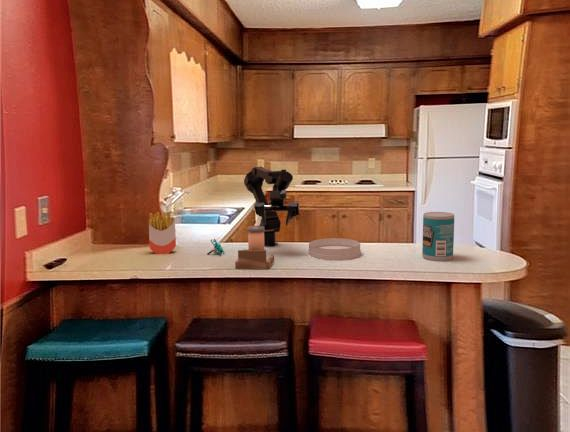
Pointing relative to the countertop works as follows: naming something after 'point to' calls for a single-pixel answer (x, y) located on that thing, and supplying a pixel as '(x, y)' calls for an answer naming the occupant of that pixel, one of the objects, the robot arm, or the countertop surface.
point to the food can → (438, 236)
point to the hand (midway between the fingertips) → (275, 225)
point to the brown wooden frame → (253, 259)
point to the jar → (256, 237)
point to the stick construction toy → (216, 248)
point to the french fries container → (162, 233)
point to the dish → (334, 249)
